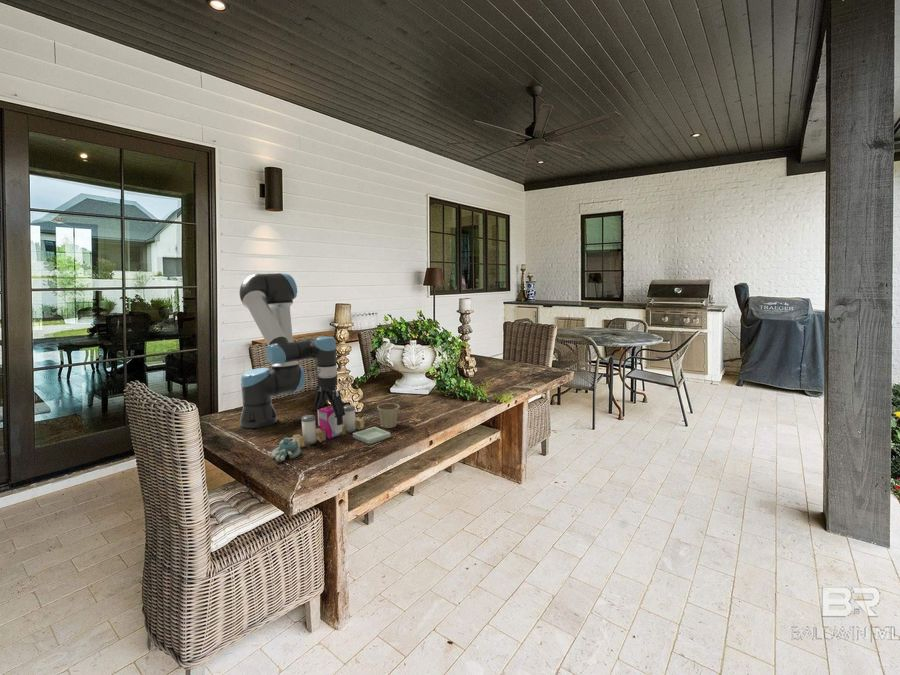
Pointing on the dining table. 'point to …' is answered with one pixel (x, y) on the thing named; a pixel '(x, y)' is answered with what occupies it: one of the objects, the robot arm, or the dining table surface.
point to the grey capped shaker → (349, 418)
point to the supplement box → (328, 422)
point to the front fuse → (309, 429)
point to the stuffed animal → (286, 449)
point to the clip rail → (322, 436)
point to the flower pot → (388, 414)
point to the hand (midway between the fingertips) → (330, 428)
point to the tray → (371, 435)
